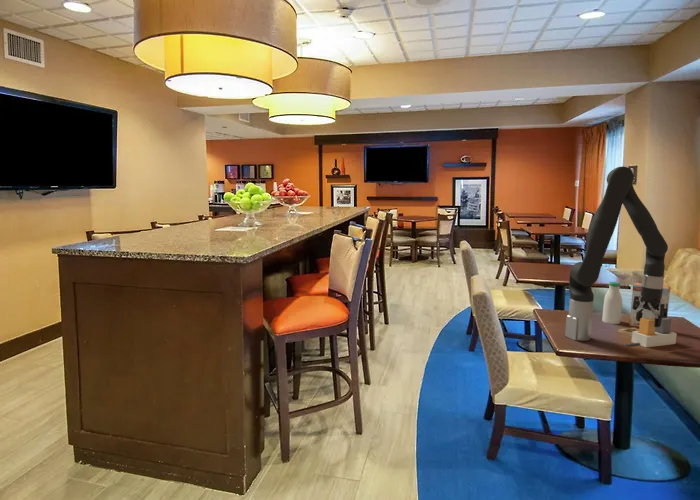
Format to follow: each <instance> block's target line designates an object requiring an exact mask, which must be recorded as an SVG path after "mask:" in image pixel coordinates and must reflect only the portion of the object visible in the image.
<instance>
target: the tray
mask: <svg viewBox="0 0 700 500" xmlns="http://www.w3.org/2000/svg"><path fill="white" fill-rule="evenodd" d="M632 331H639V328H638V327H629V328H619V329H618V333H621V334H622V335H626V336H629V337H630V338H632Z"/></svg>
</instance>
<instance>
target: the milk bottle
mask: <svg viewBox="0 0 700 500" xmlns="http://www.w3.org/2000/svg"><path fill="white" fill-rule="evenodd" d="M608 287H609V288H608V290H607V292H606V293H605V296H604V297H603V298H604V299H603V306H602V307H603V308H602V318H601V320H602V322H603V323H606V324H610V325H618V324H620V323H621V320H622V319H621V317H622V309H623V307H622V306H623V298H622V295H621V291H620V288H621V282H617V281H610V282H608Z"/></svg>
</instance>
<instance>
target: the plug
mask: <svg viewBox="0 0 700 500" xmlns="http://www.w3.org/2000/svg"><path fill="white" fill-rule="evenodd" d="M654 323H655V320H654V319H651V318H640V326H639V328H638V329H639V333H641V334H644V335H647V336H652V335H655V327H654Z"/></svg>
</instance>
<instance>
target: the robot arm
mask: <svg viewBox="0 0 700 500" xmlns="http://www.w3.org/2000/svg"><path fill="white" fill-rule="evenodd" d="M634 179H635V174H634V172H633V170H632V169H631V168H629V167H628V166H622V165H621V166H618V167H615V168H613V169H612V170H610V171H609V173H608V174H607V176H606V184H607V186H606V189H605V192H604V193H605V194H604V196H603V198H602V200H601V201H600V204H599V205H598V207H597V209H596V211H595V212H594V215H593V216H592V219H591V221H590V224H589V227H588V231H587V237H586V250H585V251H586V252H585V255H584V257H583V260H582V261H578V262H576V263H574V264H573V265H572V266H571V268H570V270H569V279H568V280H569V281H568V282H569V283H568V291H569V303H568V305H569V306H568V315H566V320H565V331H564V332H565V334H564V336H565V337H567V338H569V339H571V340H573V341H581V342H582V341H583V342H584V341H590V340H591V335H592V334H591V333H592V321H593V312H594V311H593V310H594V299H595V295H594V293H593V289H592V286H593V285H594V284H595V283H596V282H597V281H598V279H599V276H600V273H601V268H602V265H603V261H604V258H605V256H606V252H607V250H608V247H609V245H610V241H611V239H612V236H613V234H614V231H615V229H616V227H617V224H618V220H619V217H620V214H621V210H622V208H623V207H624V208H625V210H626V213H627V214H628V216H629V218H630V220H631V223H632V224H633V226H634V228H635V230H636V232H637V233H638V234H639V236H640V237H641V239H642V241H643V244H644V245H645V262H644V267H643V276H642V281H641V283H642V286H641V296H642V297H641V296H635V297H634V301H633V307H632V309H633V310H636V320H637V321H640V318H642V314H643V313H642V311H643V310H644V309H648V310H650V311H652V313H653V314H654V315H655V317H656V318H655V323H654V327H660V326H661V319H662V318H668V316H667V310H668V311H669V305H668V304H667V303H664V304H663V303H661V302H660V300H661V298H662V292H663V286H664V283H665V281H664V276H665V269H666V268H665V267H666V265H665V258H666V253H667V252H668V250H669V249H668V248H669V246H668V243H667V241H666V240H665V238H664V236H663V235H662V234H661V232H660V230H659V228H658V226H657V223H656V222H655V220H654V218H653V215H652V214H651V213H650V211H649V210H648V208H647V207H646V205H645V204H644V203H643V201H641V199H640V197H639V196H638V194H637V191H636V190H635V188H634V184H633V182H634ZM622 206H623V207H622ZM640 301H641V304H640ZM636 304H637V305H636ZM659 306H660V307H659ZM656 309H657V311H656ZM663 314H664V315H663ZM658 315H659V316H658Z"/></svg>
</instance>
